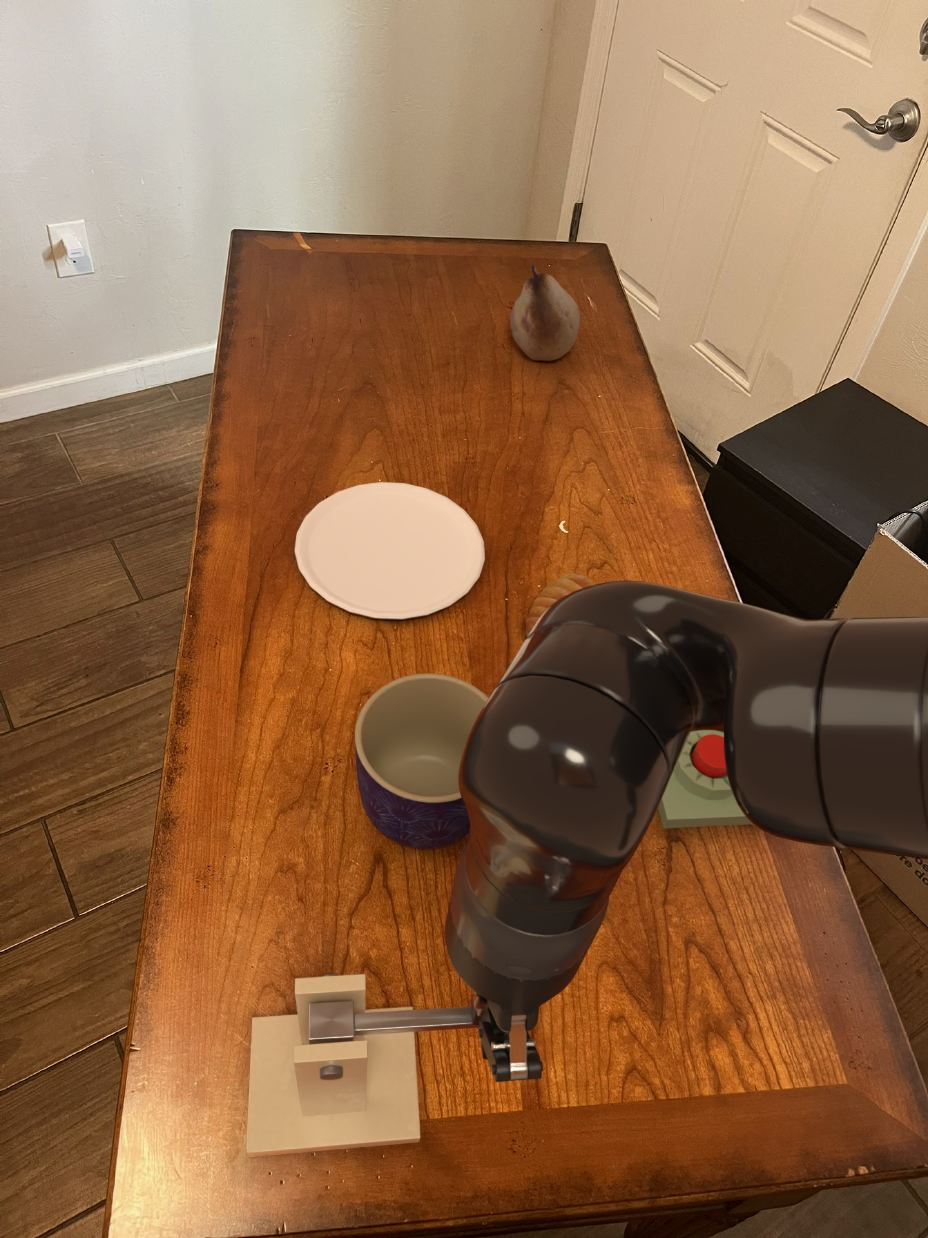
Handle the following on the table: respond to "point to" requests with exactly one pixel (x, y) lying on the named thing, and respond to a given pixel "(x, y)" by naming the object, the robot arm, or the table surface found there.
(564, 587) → the pastry
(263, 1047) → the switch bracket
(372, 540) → the plate
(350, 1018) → the lever
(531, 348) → the fruit
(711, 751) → the button
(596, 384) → the table surface
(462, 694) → the planter
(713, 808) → the button block
